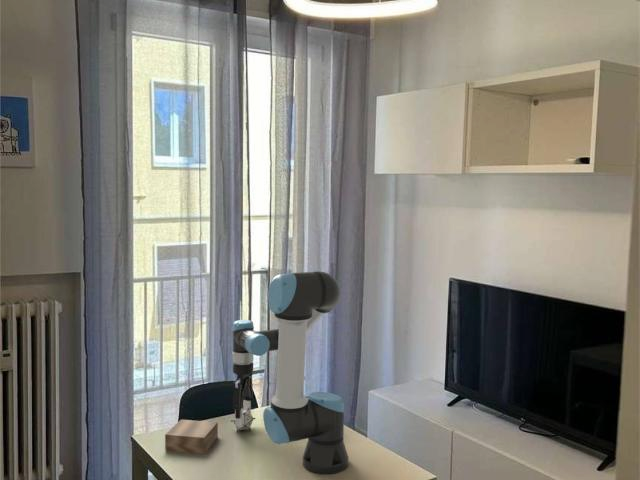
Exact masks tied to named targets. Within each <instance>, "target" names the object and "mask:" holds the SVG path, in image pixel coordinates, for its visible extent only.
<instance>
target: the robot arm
mask: <svg viewBox="0 0 640 480" xmlns="http://www.w3.org/2000/svg"><path fill="white" fill-rule="evenodd" d="M340 299H341V287H340V284H339V283H338V281H337V280H336V278H335V277H334V276H333V275H331V274H330V273H328V272H325V271H319V270H318V271H307V272H305V271H303V272H287V273H283V274H281V273H280V274H278V275H276V276H274V277H273V279H272V280H271V281H270V283H269V287H268V291H267V303H268V307H269V309H270V311H271V312H272V313H274V318H275V319H276V320H277V321H278V328H274V329H267V330H257V331H256V330H254V329H255V327H254V322H253V321H252V320H250V319H240V320H239V319H237V320H235V321H234V322H233V325H232V331H231V332H232V353H231V355H232V372H233V374H235V375H236V380H235V381H233V384H232V387H233V393H232V410H234V416H235V424H234V427H236V426H238V427H242V426H243V410H247V409H248V408H249V412H250V413H252V407H251V406H252V405H251V403H252V402H251V401H254V389H253V372H254V356H256V357H261V356H264V355H265V354H266V353H268V352H273V351H277V362H276V363H277V365H276V366H277V367H276V389H275V391H276V393H275V394H274V395H273V396H272V397H271V399H270V406H267V407H265V408H264V410H263V414H262V417H263V419H262V420H263V425H264V428H265V431H266V434H267V435H268V438H269V439H270V440H271V442H272V443H274V444H276V445H281V444H290V443H292V442H298V441H303V440H306V439H307V443H306V447H305V449H304V452H303V454H302V466H303V467H304V468H305V469H306V470H308V471H310V472H313V473H316V474H322V475H323V474H324V475H325V474H328V475H329V474H336V473H340V472H342V471H344V470H346V469H347V468H348V466H349V455H348V454H349V453H348V451H347V447H346V445H345V442H344V441H345V440H344V437H345V436H344V435H345V434H344V432H345V431H344V428H345V427H344V426H345V425H344V424H345V403H344V400H343V399H344V398H342V397H341V396H340V395H338V394H335V393H331V392H327V391H313V392H311V393H309V394H308V396H309V397H308V399H309V400H308V399H307V398H306V395H304V391H305V387H304V386H305V380H304V376H305V372H306V371H305V369H306V368H305V367H306V351H307V350H306V349H307V348H306V347H307V346H306V345H307V332H308V331H309V330H310V329H311V328H312V327H313V326H314V325H315V323H317V322H318V320H320V319H321V318H322V316H323V315H324V314H328V313H330V312H331V311H333V310H334V309H335V307H336V306H337V305H338V303H339V301H340Z"/></svg>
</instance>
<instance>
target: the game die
mask: <svg viewBox="0 0 640 480" xmlns="http://www.w3.org/2000/svg"><path fill="white" fill-rule="evenodd" d="M251 413H252V412H251ZM251 413H250V412H249V408H248V409H247V410H243V426H242V427H238V426H235V428H236V433H238V432H239V431H244V430H249V431H252V430H251V427H252V423H253V421H254V420H256V417H253V415H252V414H251ZM230 422H231V423H233V425H235V415H234V416H233V419H232V420H230Z"/></svg>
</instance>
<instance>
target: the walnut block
mask: <svg viewBox="0 0 640 480" xmlns="http://www.w3.org/2000/svg"><path fill="white" fill-rule="evenodd" d="M218 430H219V423H218V421H206V420H192V419H180V420H179V421H178V422H176V423H175V424H174V426H172V428H171V429H169V431H167V432H166V433H165V435H164V441H165V442H164V443H165V445H164V447H165V450H167V451H168V452H178V453H187V454H189V453H190V454H199V455H200V454H201V455H203V454H204V455H205V454H206V453H207V452H208V451H209V448H211V446H212V445H213V444H214V443H215V441H216V440H217V439H218V437H219V431H218ZM167 451H166V452H167Z"/></svg>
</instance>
